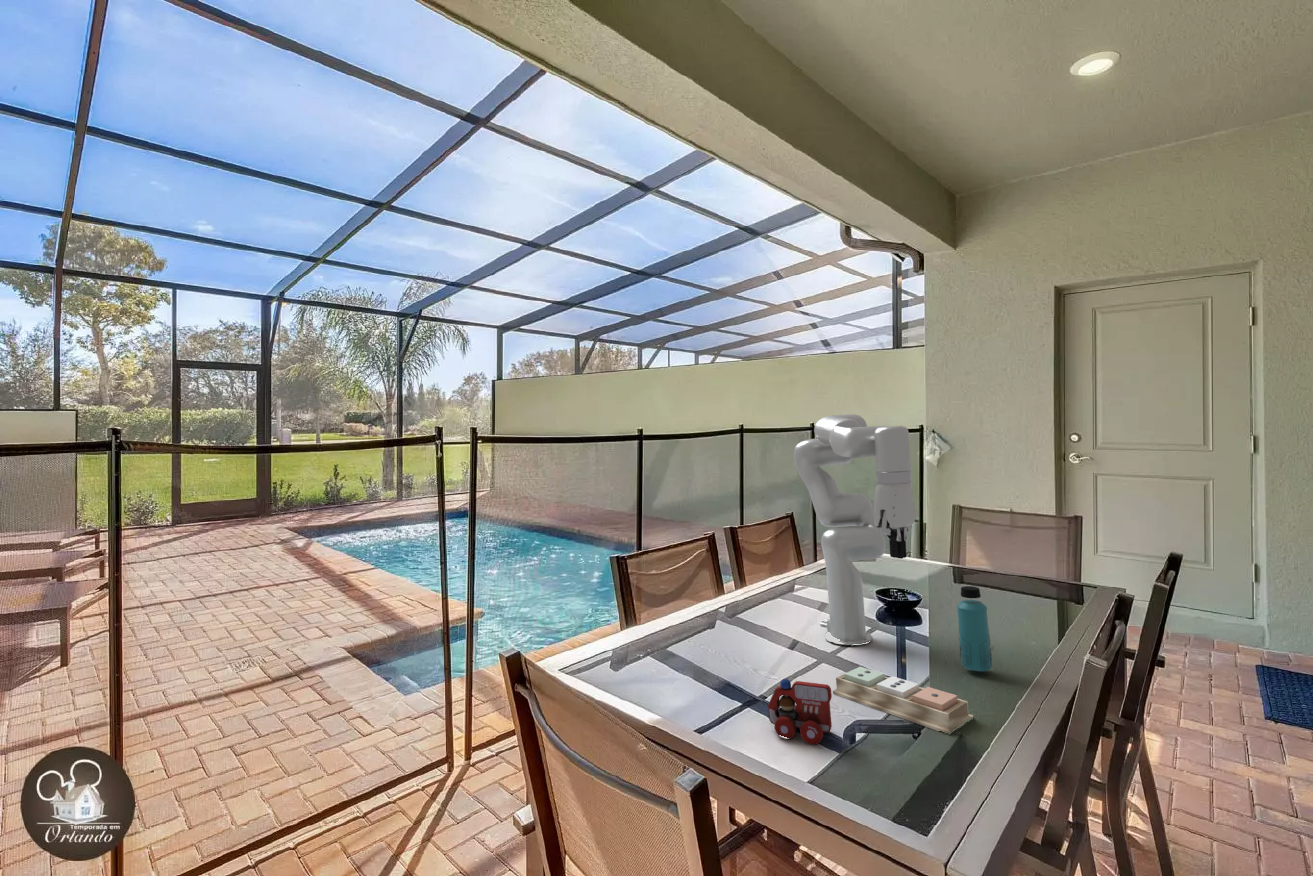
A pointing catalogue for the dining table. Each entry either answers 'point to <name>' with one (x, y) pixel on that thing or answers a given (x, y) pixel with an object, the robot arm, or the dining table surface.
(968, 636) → the beverage bottle
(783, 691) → the toy fire truck
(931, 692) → the one dot tile
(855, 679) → the two dot tile
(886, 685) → the three dot tile
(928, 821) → the dining table surface
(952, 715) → the tile board
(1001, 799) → the dining table surface
